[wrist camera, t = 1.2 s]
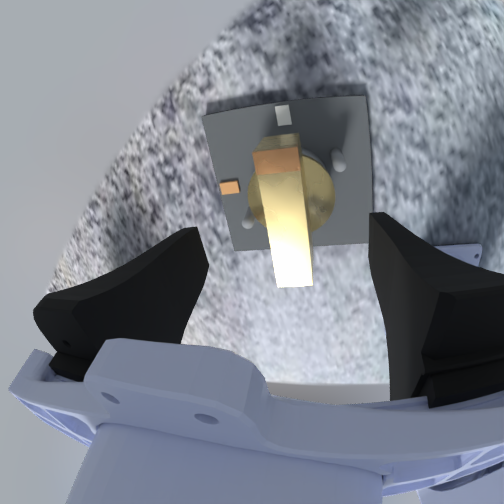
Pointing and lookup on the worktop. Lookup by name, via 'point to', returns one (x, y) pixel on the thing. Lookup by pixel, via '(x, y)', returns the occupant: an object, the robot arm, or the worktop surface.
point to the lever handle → (290, 204)
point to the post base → (312, 134)
